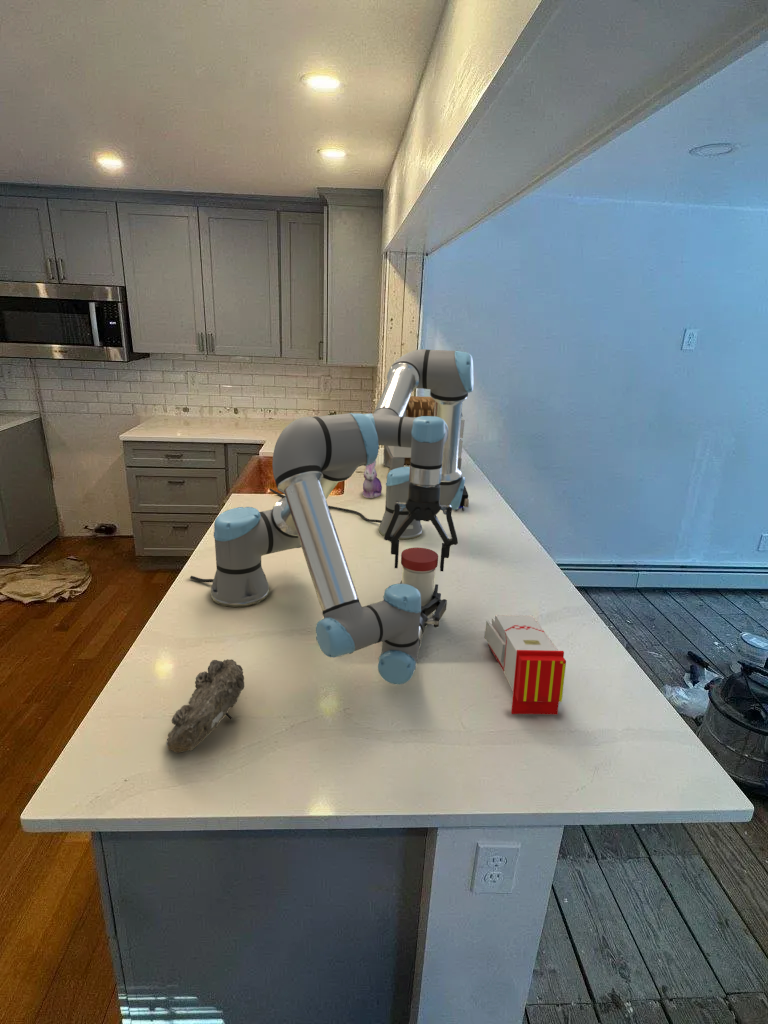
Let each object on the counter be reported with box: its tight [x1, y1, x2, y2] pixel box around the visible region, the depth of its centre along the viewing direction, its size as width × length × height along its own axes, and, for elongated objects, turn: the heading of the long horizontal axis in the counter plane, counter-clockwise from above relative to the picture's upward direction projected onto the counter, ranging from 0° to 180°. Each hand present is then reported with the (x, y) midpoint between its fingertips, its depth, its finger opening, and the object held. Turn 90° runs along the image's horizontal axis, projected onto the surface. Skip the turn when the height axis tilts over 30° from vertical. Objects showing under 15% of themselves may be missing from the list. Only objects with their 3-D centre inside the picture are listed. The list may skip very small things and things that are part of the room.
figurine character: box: [455, 485, 470, 512], centre depth 229 cm, size 7×8×15 cm
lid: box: [400, 547, 439, 571], centre depth 141 cm, size 9×9×2 cm
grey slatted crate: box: [383, 395, 465, 472], centre depth 268 cm, size 34×33×41 cm
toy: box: [484, 614, 567, 716], centre depth 124 cm, size 12×13×30 cm
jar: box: [401, 565, 436, 618], centre depth 144 cm, size 8×8×17 cm
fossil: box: [166, 658, 245, 754], centre depth 106 cm, size 22×10×15 cm
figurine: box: [361, 459, 383, 499], centre depth 237 cm, size 9×10×15 cm
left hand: (419, 586), depth 149 cm, fingers closed on jar, 8 cm apart
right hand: (418, 567), depth 142 cm, fingers open, 11 cm apart
